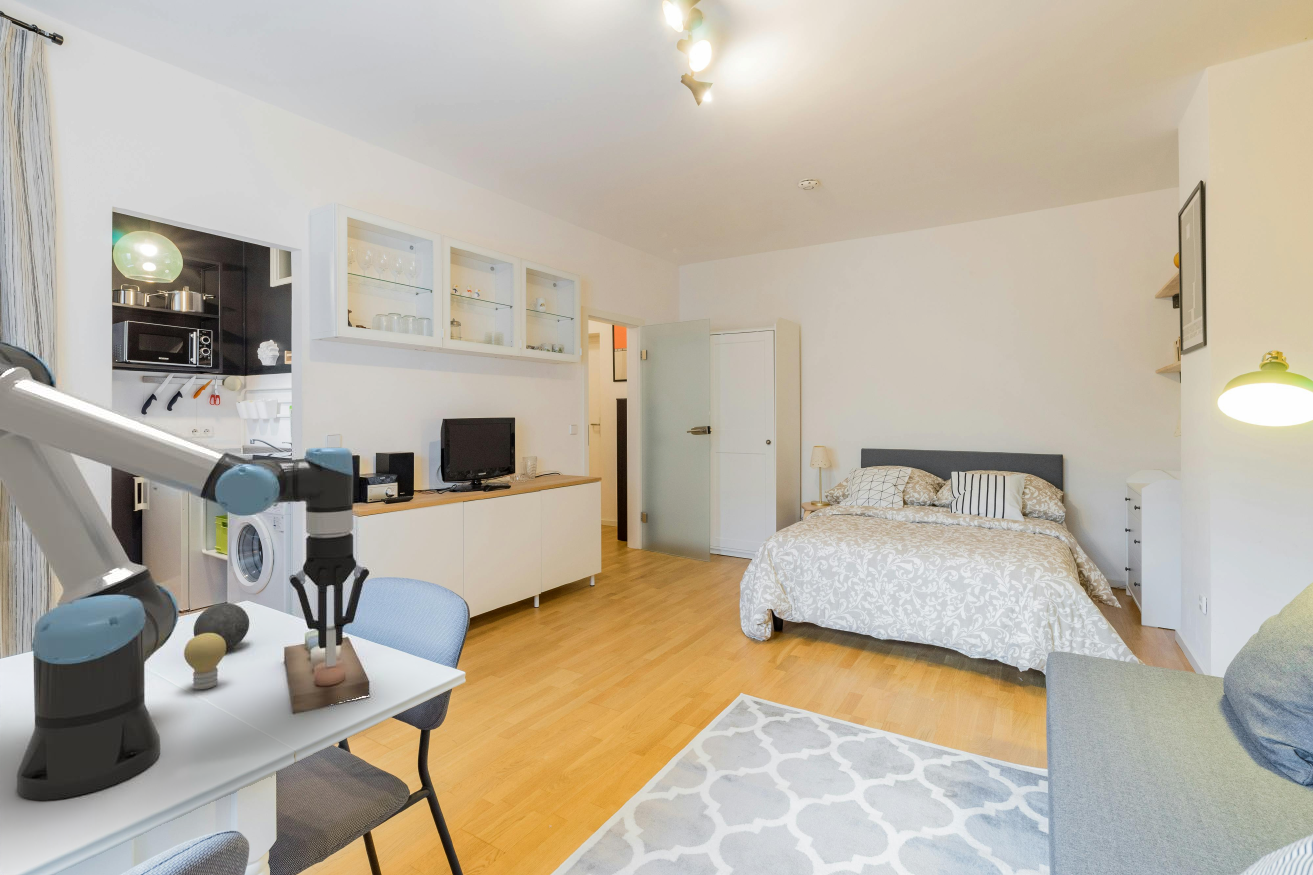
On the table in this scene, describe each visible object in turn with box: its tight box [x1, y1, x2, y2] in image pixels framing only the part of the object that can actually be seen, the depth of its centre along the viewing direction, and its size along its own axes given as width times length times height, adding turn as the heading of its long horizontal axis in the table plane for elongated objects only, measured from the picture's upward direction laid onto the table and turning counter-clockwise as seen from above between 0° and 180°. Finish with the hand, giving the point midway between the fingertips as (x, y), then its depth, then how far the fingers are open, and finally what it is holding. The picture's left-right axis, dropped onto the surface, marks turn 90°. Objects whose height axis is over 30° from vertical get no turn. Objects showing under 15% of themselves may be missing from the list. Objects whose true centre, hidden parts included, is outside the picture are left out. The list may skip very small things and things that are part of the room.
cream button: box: [311, 645, 341, 667], centre depth 120 cm, size 5×5×3 cm
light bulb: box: [183, 633, 227, 691], centre depth 118 cm, size 6×6×10 cm
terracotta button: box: [314, 661, 345, 686], centre depth 114 cm, size 5×5×3 cm
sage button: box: [304, 629, 318, 649], centre depth 131 cm, size 5×5×3 cm
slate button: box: [308, 635, 319, 655], centre depth 126 cm, size 5×5×3 cm
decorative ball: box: [193, 602, 250, 651], centre depth 138 cm, size 10×10×10 cm
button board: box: [283, 636, 370, 714], centre depth 123 cm, size 12×28×3 cm, turn 33°
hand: (330, 664), depth 114 cm, fingers closed
